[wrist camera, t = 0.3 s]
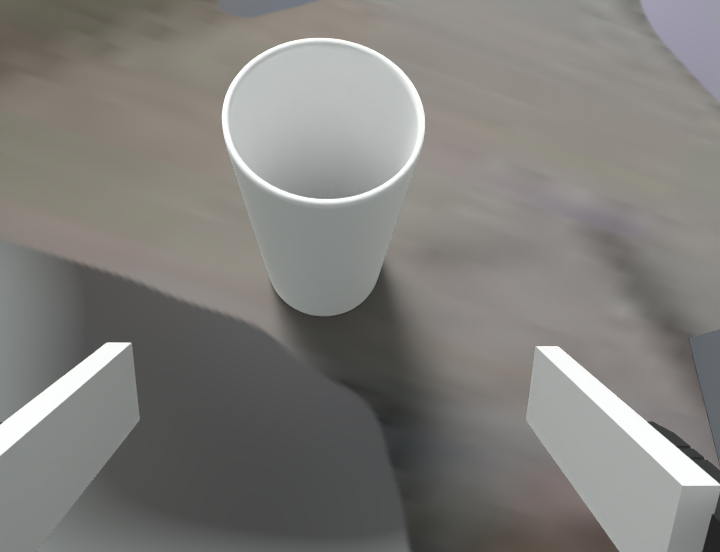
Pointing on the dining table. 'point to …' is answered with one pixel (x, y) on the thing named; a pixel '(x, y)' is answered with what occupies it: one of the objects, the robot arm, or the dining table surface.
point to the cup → (323, 165)
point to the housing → (709, 377)
